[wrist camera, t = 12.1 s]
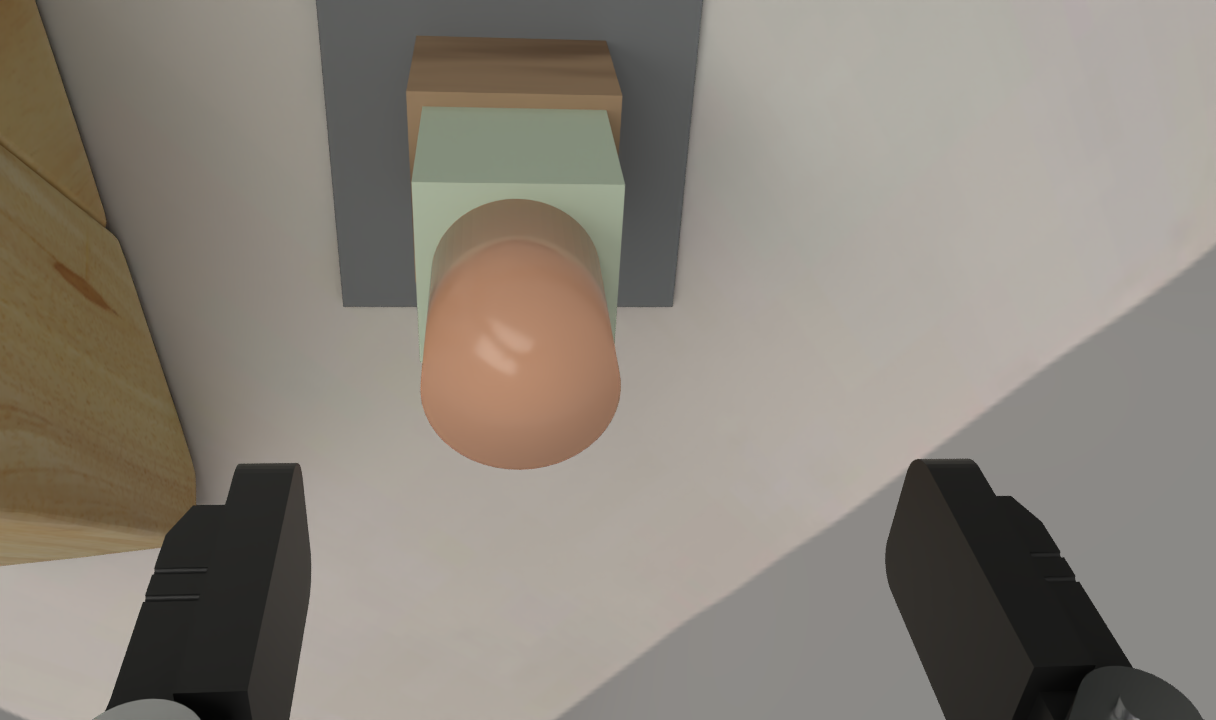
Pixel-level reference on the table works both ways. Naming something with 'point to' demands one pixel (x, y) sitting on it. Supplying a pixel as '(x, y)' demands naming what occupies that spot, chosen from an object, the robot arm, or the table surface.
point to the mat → (501, 8)
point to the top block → (516, 178)
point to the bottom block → (510, 78)
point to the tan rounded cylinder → (518, 338)
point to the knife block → (71, 340)
